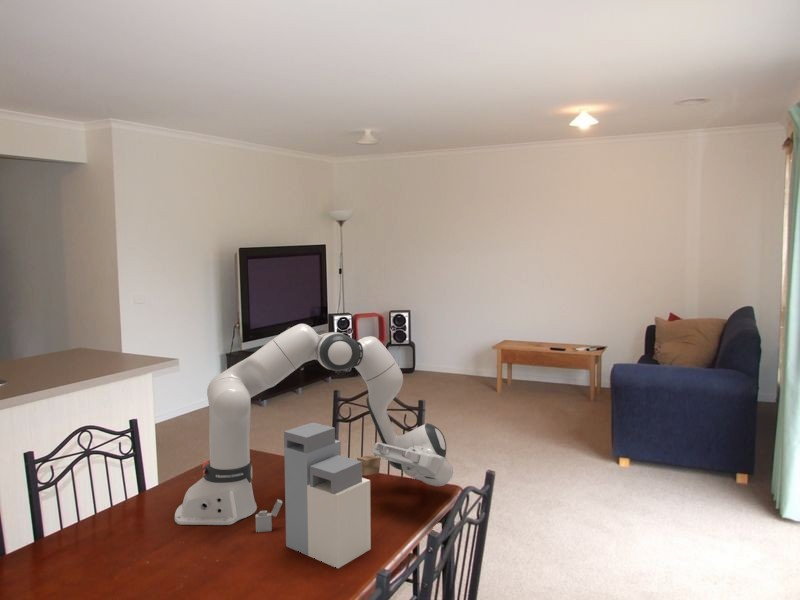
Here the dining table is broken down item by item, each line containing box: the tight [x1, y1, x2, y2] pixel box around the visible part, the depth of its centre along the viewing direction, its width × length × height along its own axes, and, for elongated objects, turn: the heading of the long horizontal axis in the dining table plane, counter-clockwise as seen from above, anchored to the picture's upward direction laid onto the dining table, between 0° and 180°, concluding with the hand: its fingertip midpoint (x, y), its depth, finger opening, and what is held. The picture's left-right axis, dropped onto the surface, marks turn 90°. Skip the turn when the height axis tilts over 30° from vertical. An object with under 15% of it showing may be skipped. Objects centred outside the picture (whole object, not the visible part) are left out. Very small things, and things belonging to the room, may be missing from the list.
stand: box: [283, 422, 372, 569], centre depth 161 cm, size 12×18×30 cm, turn 52°
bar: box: [356, 454, 382, 476], centre depth 162 cm, size 17×3×4 cm, turn 143°
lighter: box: [255, 498, 283, 534], centre depth 172 cm, size 7×2×8 cm, turn 105°
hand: (390, 450), depth 173 cm, fingers open, 8 cm apart
